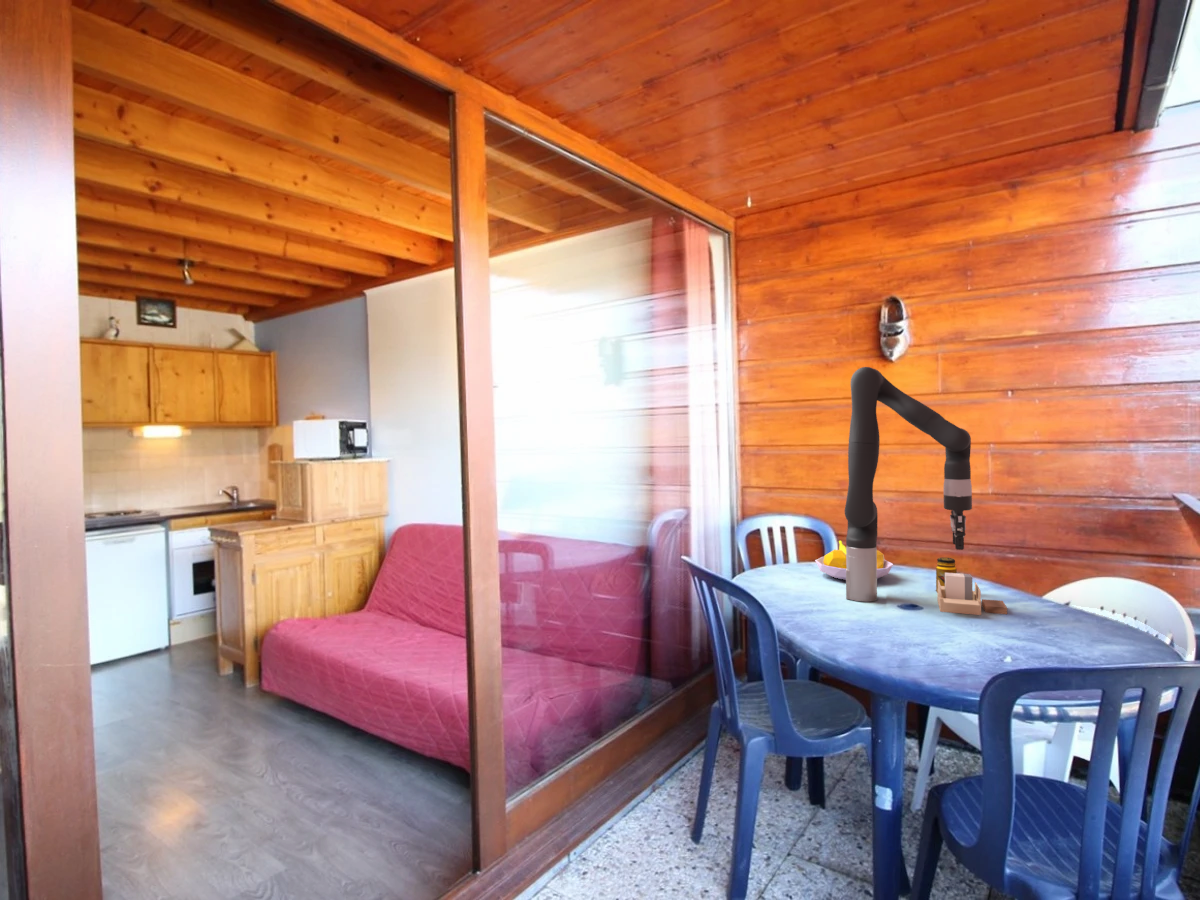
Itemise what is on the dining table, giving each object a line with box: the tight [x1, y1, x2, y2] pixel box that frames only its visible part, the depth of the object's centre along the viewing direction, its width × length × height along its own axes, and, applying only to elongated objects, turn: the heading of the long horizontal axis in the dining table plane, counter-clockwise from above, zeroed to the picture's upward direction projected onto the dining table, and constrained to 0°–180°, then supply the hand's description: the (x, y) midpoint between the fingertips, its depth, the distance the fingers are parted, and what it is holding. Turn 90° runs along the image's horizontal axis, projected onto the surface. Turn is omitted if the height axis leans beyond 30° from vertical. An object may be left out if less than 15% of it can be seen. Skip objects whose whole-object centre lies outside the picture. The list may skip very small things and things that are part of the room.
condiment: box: [934, 557, 958, 593], centre depth 215 cm, size 7×8×12 cm
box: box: [945, 572, 973, 600], centre depth 197 cm, size 7×4×10 cm, turn 66°
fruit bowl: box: [814, 540, 894, 581], centre depth 241 cm, size 28×27×11 cm
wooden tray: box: [936, 580, 982, 616], centre depth 197 cm, size 11×21×8 cm, turn 156°
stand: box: [981, 598, 1008, 615], centre depth 194 cm, size 6×8×2 cm
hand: (958, 546), depth 196 cm, fingers open, 8 cm apart
